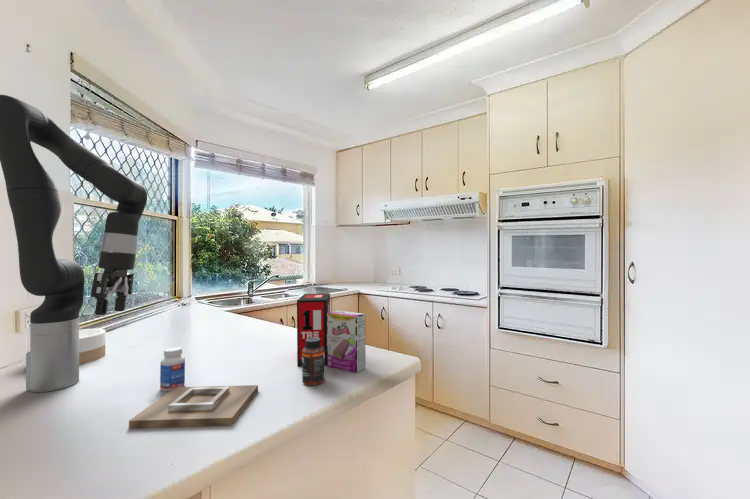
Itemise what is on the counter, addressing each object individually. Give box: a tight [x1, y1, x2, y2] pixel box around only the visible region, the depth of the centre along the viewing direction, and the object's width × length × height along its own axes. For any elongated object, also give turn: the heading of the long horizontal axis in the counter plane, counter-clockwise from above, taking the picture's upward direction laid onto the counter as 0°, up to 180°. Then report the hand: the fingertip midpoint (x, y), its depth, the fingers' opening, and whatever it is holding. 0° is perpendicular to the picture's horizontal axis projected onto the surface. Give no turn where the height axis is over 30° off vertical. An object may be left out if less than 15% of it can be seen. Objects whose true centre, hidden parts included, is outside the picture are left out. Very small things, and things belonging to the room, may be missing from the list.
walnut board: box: [128, 384, 259, 429], centre depth 72 cm, size 20×16×3 cm
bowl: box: [79, 328, 106, 366], centre depth 107 cm, size 17×17×8 cm
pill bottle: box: [159, 346, 186, 392], centre depth 84 cm, size 6×5×10 cm
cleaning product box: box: [296, 292, 331, 368], centre depth 107 cm, size 16×9×20 cm, turn 4°
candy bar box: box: [326, 309, 367, 374], centre depth 96 cm, size 11×5×16 cm, turn 59°
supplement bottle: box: [301, 338, 326, 386], centre depth 86 cm, size 6×6×11 cm
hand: (110, 312), depth 85 cm, fingers open, 8 cm apart
